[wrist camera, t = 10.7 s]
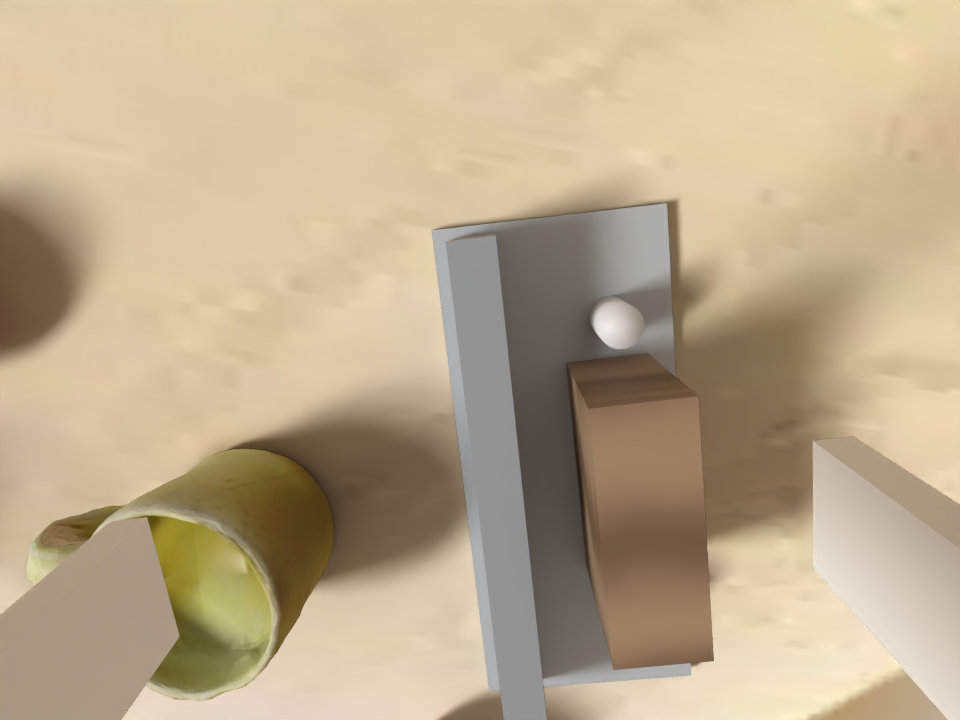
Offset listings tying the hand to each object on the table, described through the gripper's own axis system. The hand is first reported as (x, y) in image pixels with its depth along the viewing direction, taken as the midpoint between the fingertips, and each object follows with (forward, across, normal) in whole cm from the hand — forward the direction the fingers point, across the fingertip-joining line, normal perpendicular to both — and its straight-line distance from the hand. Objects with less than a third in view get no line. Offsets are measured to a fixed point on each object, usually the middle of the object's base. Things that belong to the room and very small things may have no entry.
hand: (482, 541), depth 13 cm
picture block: (+19, +6, -7) cm, 21 cm away
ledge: (+20, +3, -7) cm, 21 cm away
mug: (+20, -15, -8) cm, 26 cm away
